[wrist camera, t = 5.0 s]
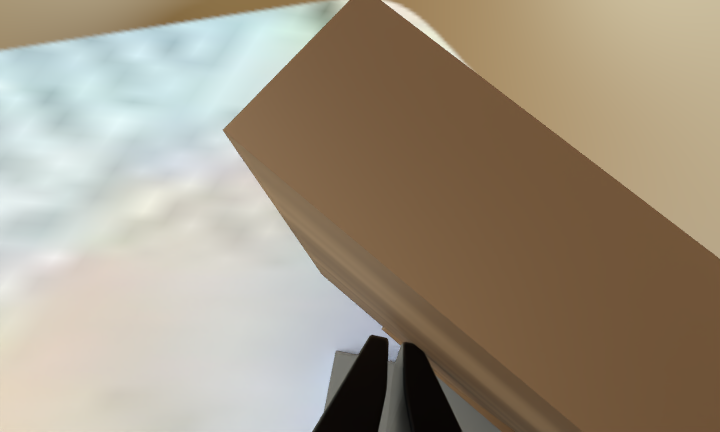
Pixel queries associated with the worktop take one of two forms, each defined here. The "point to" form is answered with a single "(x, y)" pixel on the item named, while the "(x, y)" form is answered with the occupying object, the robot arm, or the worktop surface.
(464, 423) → the gray rectangular base plate
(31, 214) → the worktop surface
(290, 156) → the pull lever
